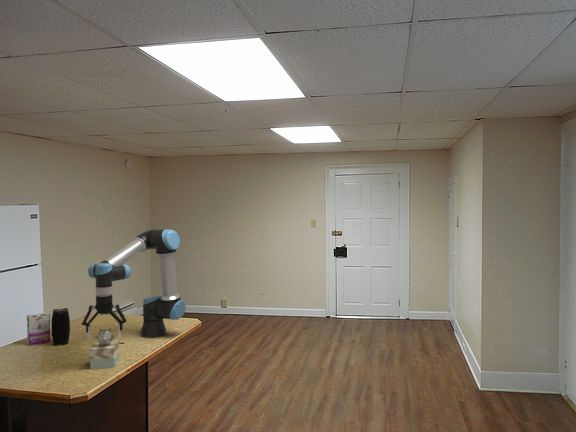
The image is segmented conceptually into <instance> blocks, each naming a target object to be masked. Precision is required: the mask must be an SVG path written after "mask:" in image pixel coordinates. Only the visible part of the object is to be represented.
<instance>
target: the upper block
mask: <svg viewBox="0 0 576 432" xmlns="http://www.w3.org/2000/svg"><path fill="white" fill-rule="evenodd" d="M99 345H100V344H99V342H98V341H97V342H95V343H94V344H93V345H92V346H91V347H90V348H89V350H88V351H89V361H90V360H91V359H112V358H114V357H115V356H116V354H117V353H118V354H119V352H120V341H118V340H117V341H111V342H110V345H109V344H107V345H100V346H99Z"/></svg>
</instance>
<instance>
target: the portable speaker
mask: <svg viewBox="0 0 576 432" xmlns="http://www.w3.org/2000/svg"><path fill="white" fill-rule="evenodd" d="M51 315H52V316H51V319H50V329H51V339H52V343H53V346H57V345H63V346H65V345H67V344H69V340H70V333H71V319H70V313H69V309H68V308H67V307H64V308H54V309H53V310H52V314H51Z"/></svg>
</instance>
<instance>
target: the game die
mask: <svg viewBox="0 0 576 432" xmlns="http://www.w3.org/2000/svg"><path fill="white" fill-rule="evenodd" d="M111 330H112V328H109V329H101V328H99V332H98V334H97V336H95V337H94V338H95V339H97V342H99V344H100V345H107V344H109V345H110V342H113V339H114V338H115V336H114V335H113V333H112V331H111ZM100 345H99V346H100Z"/></svg>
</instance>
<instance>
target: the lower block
mask: <svg viewBox="0 0 576 432" xmlns="http://www.w3.org/2000/svg"><path fill="white" fill-rule="evenodd" d="M89 361H90V362H89V363H90V370H99V369H100V370H101V369H112V368H116V366H117V363H118V362H119V352H118V353H117V354H116V356H115V357H114V358H112V359H91V360H90V359H89Z"/></svg>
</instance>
